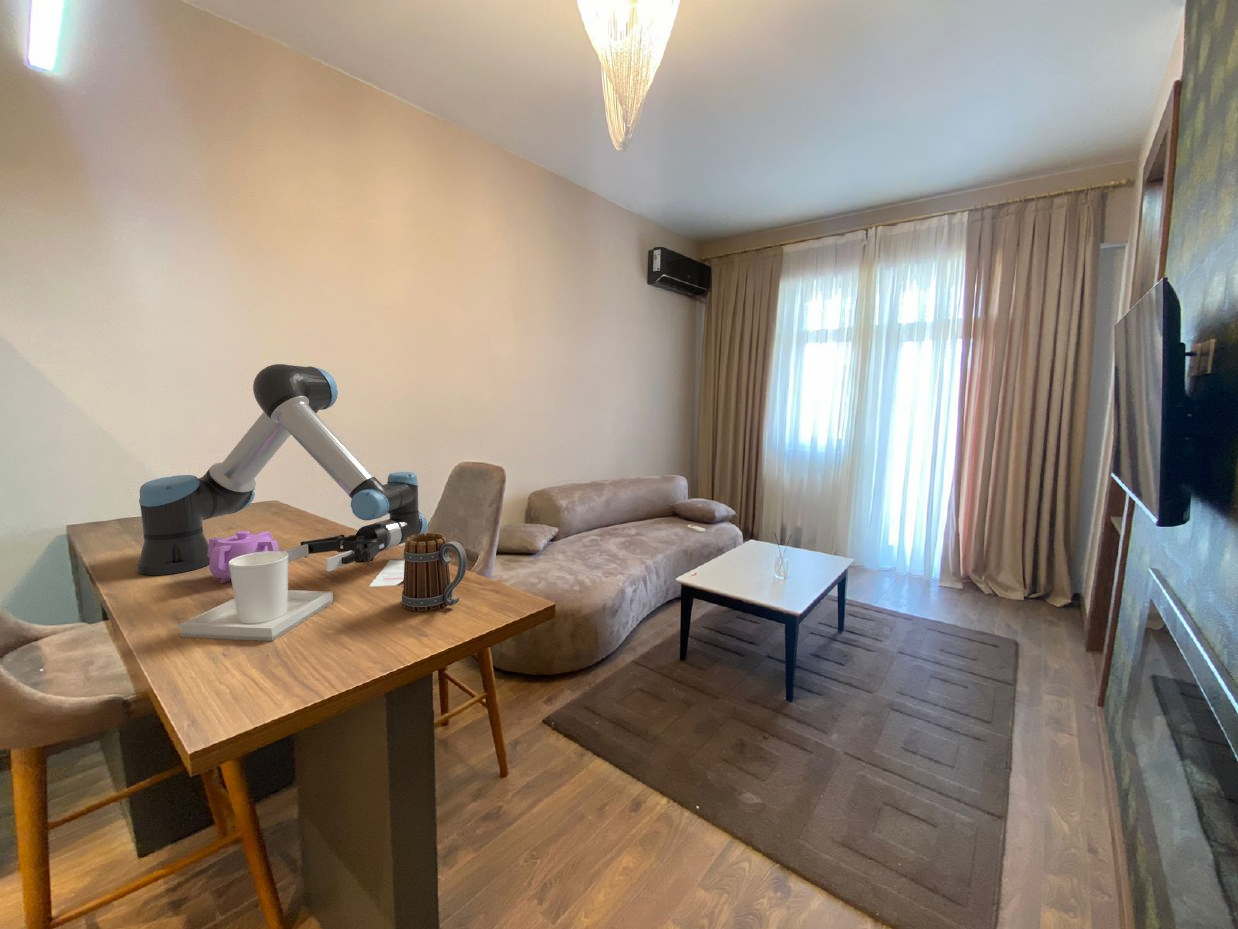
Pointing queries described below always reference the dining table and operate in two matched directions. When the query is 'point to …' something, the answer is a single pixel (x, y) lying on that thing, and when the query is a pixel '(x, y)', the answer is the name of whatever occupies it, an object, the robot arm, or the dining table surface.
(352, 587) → the dining table surface
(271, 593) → the white tapered cylinder
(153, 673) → the dining table surface
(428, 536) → the mug
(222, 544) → the pot
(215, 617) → the tray
